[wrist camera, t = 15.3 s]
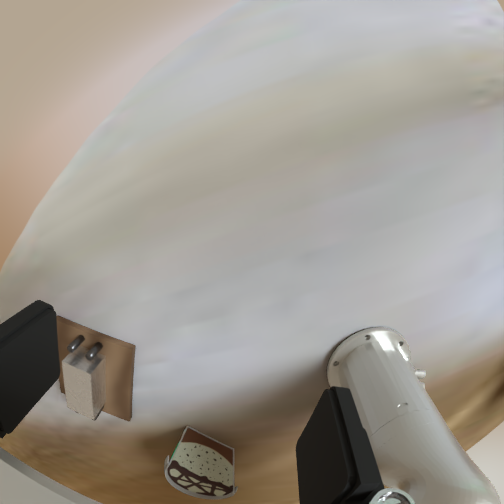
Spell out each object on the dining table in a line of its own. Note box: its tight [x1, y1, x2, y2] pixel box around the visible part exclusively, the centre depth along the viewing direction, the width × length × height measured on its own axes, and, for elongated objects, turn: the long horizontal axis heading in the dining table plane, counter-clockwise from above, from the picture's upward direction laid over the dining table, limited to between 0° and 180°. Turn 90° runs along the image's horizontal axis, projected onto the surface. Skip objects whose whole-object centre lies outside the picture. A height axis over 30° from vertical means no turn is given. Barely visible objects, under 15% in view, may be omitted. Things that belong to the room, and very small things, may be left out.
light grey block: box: [62, 346, 106, 420], centre depth 39 cm, size 5×10×5 cm, turn 165°
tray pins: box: [67, 335, 104, 420], centre depth 40 cm, size 4×14×4 cm, turn 166°
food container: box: [164, 425, 238, 499], centre depth 41 cm, size 12×6×10 cm, turn 54°
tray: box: [57, 316, 135, 421], centre depth 42 cm, size 14×16×1 cm
